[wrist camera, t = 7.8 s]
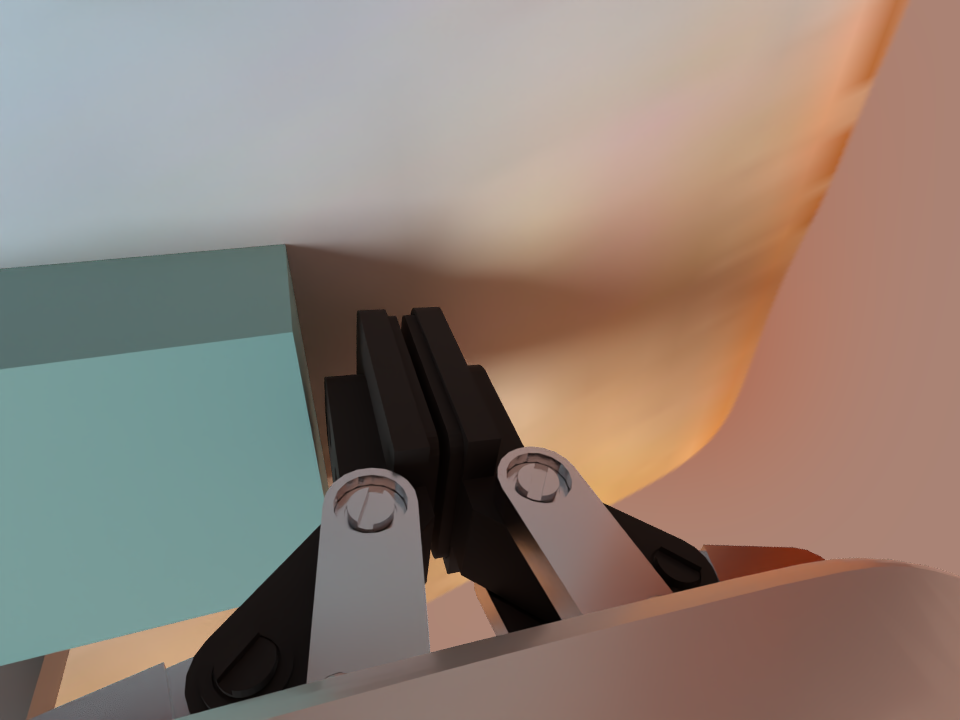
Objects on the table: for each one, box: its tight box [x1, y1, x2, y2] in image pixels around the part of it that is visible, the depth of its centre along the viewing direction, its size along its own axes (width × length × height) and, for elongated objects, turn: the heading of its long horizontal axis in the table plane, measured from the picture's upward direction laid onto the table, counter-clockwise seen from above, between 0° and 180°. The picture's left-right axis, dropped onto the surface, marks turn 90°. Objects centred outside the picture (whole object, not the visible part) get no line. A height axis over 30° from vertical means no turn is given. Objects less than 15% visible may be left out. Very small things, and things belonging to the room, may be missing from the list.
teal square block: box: [0, 244, 329, 666], centre depth 11 cm, size 7×7×4 cm
